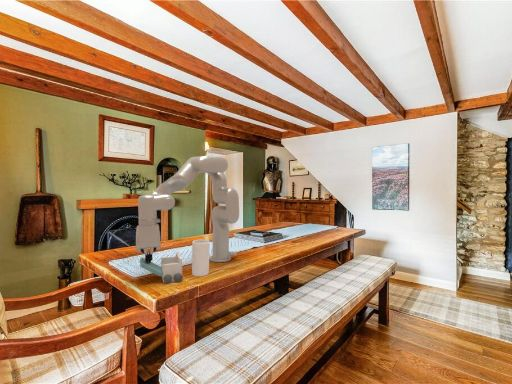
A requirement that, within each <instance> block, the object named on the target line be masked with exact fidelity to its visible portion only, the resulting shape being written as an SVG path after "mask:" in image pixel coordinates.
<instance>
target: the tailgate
mask: <svg viewBox="0 0 512 384" xmlns="http://www.w3.org/2000/svg"><path fill="white" fill-rule="evenodd" d="M139 267H140V268H142V269H144V270H147V271H148V272H150V273H152V274H154V275H156V276H158V277H161V278H162V276H161V275H162V274H163V273H162V270H161V265H158V264H156V263H154V262H152V261H151V263H148V264H147V261H145V257H143V256H142V257H140V259H139Z"/></svg>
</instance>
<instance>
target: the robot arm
mask: <svg viewBox="0 0 512 384" xmlns="http://www.w3.org/2000/svg"><path fill="white" fill-rule="evenodd" d="M228 168H229V163H228V160H227V159H226V158H225V157H222V156H211V155H210V156H207V155H200V156H191V157H190V158H188V159H187V160H186V162H184V164H183V165H182V166H181V167H180V168H179V169H178V171H176V173H174V175H173V176H171V177H169V178H168V179H166V180H165V181H163V182H162V183H161V184H160V185H159V186H157V187H156V188H155V189H154V191H152V193H151V194H147V195H146V194H143V195H139V196H138V199H137V206H138V207H137V208H138V209H137V210H138V225H137V226H136V229H135V230H136V232H135V245H136V246H135V252H139V253H140V252H141V253H142V254H144V258H145V261H147V264H148V263H151V262H152V261H153V254H154V253H155V252H156V251H157V250H160V249H161V248H162V245H161V231H160V225H159V224H158V223H161V219H160V218H158V216H157V215H158V214H157V213H158V212H157V211H169V210H172V209H173V208H174V206H175V204H176V200H175V198H174V197H173V196H172V194H174V193H176V192H177V191H181V190H183V189H186V188H187V187H189V185H190V184H191V183H192V182H193V181H194V179H195V178H196V177H197V176H198V175H199V174H200V173H201V174H204V173H205V174H208V176H209V177H210V179H211V180H210V181H211V187H212V199H213V201H214V203H216V204H219V205H217V206H214V207H213V208H212V209H211V212H210V216H211V222H212V223H211V224H212V255H211V256H209V261H210V262H213V263H226V262H229V261H231V260H232V256H237V251H229V249H230V245H229V244H230V228H229V224H231V225H232V224H236V223H237V222H238V220H239V219H240V201H239V199H240V197H239V193H238V191H237V189H235V188H233V187H228V183H227V182H228V181H227V177H226V174H225V172H226V171H227V170H228ZM221 204H222V205H221ZM147 249H149V252H148V250H147Z"/></svg>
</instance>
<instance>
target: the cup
mask: <svg viewBox="0 0 512 384" xmlns="http://www.w3.org/2000/svg"><path fill="white" fill-rule="evenodd" d="M191 244H192V245H191V247H192V250H191V251H192V253H191V275H192V276H194V277H205V276H207V275H209V273H210V240H208V239H194V240H193V241H192V243H191Z"/></svg>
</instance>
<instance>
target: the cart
mask: <svg viewBox="0 0 512 384" xmlns="http://www.w3.org/2000/svg"><path fill="white" fill-rule="evenodd" d="M160 264H161V265H160V267H161V270H162V273H163V274H162V275H161V280H162V283H163V284H171V283H173V282H176V283H179V282H182V281H183V258H182V256H181V254H180V253H179V252H178V251H177V252H175V256H166V257H161V258H160Z"/></svg>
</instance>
